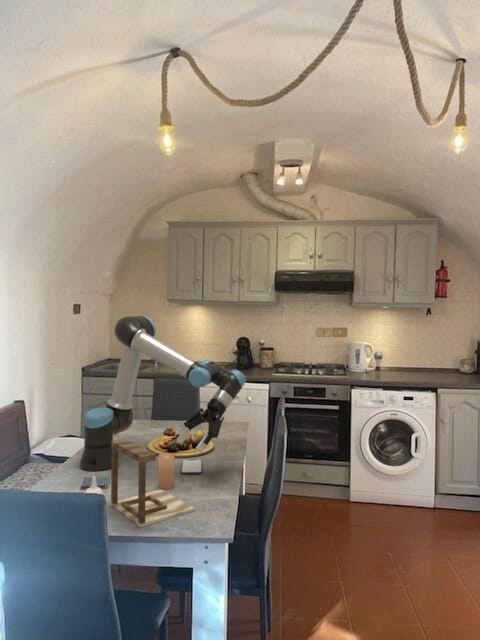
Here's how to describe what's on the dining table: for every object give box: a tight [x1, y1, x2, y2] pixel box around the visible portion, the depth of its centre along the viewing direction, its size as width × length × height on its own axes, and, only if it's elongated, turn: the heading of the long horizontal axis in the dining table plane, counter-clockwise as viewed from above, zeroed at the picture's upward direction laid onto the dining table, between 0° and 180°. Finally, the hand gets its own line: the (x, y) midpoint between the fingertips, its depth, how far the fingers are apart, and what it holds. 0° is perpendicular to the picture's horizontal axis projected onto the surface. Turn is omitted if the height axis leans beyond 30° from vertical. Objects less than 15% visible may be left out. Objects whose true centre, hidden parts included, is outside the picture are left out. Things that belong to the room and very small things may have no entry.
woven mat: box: [79, 475, 111, 491], centre depth 188 cm, size 10×11×2 cm
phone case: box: [180, 459, 203, 476], centre depth 209 cm, size 9×2×16 cm
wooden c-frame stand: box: [110, 438, 195, 528], centre depth 167 cm, size 21×20×22 cm
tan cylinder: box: [157, 453, 175, 491], centre depth 187 cm, size 6×6×12 cm
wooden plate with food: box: [146, 426, 215, 459], centre depth 237 cm, size 32×32×8 cm
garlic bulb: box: [84, 475, 104, 495], centre depth 174 cm, size 6×6×8 cm
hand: (188, 446), depth 192 cm, fingers open, 13 cm apart
